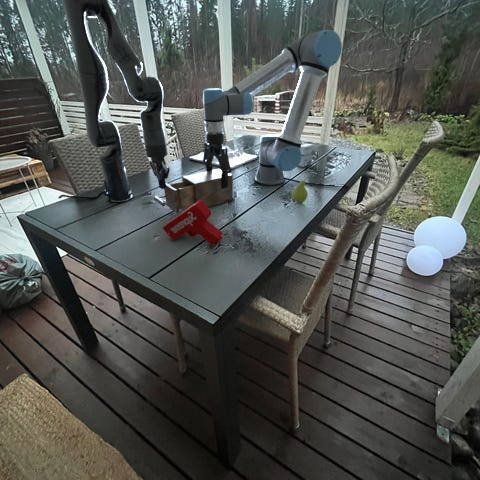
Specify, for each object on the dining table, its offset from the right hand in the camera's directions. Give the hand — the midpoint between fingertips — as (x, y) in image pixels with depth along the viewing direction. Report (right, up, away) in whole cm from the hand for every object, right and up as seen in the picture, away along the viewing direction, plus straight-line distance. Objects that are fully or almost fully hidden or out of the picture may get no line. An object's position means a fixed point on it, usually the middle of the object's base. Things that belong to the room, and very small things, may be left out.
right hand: (217, 184), depth 122 cm
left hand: (-20, -5, -16) cm, 26 cm away
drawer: (-13, -11, -6) cm, 18 cm away
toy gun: (-6, -25, -26) cm, 37 cm away
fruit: (+37, -8, 0) cm, 38 cm away
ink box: (+49, +21, +45) cm, 70 cm away
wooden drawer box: (-4, -8, +1) cm, 9 cm away
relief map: (-1, +28, +57) cm, 64 cm away
